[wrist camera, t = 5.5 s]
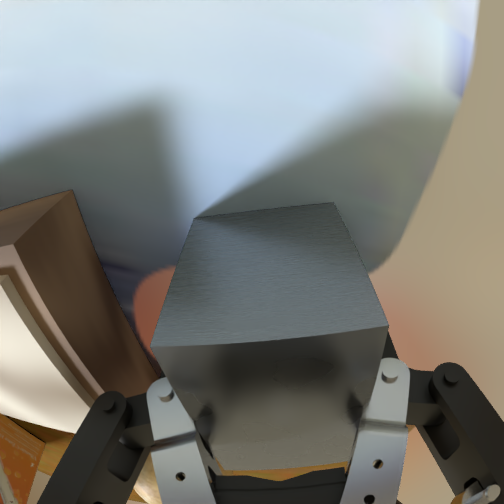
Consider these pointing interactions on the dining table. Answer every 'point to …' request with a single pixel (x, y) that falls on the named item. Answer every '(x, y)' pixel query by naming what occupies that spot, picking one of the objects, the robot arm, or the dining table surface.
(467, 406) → the robot arm
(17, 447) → the small box
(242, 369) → the block
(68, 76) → the dining table surface
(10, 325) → the stand
